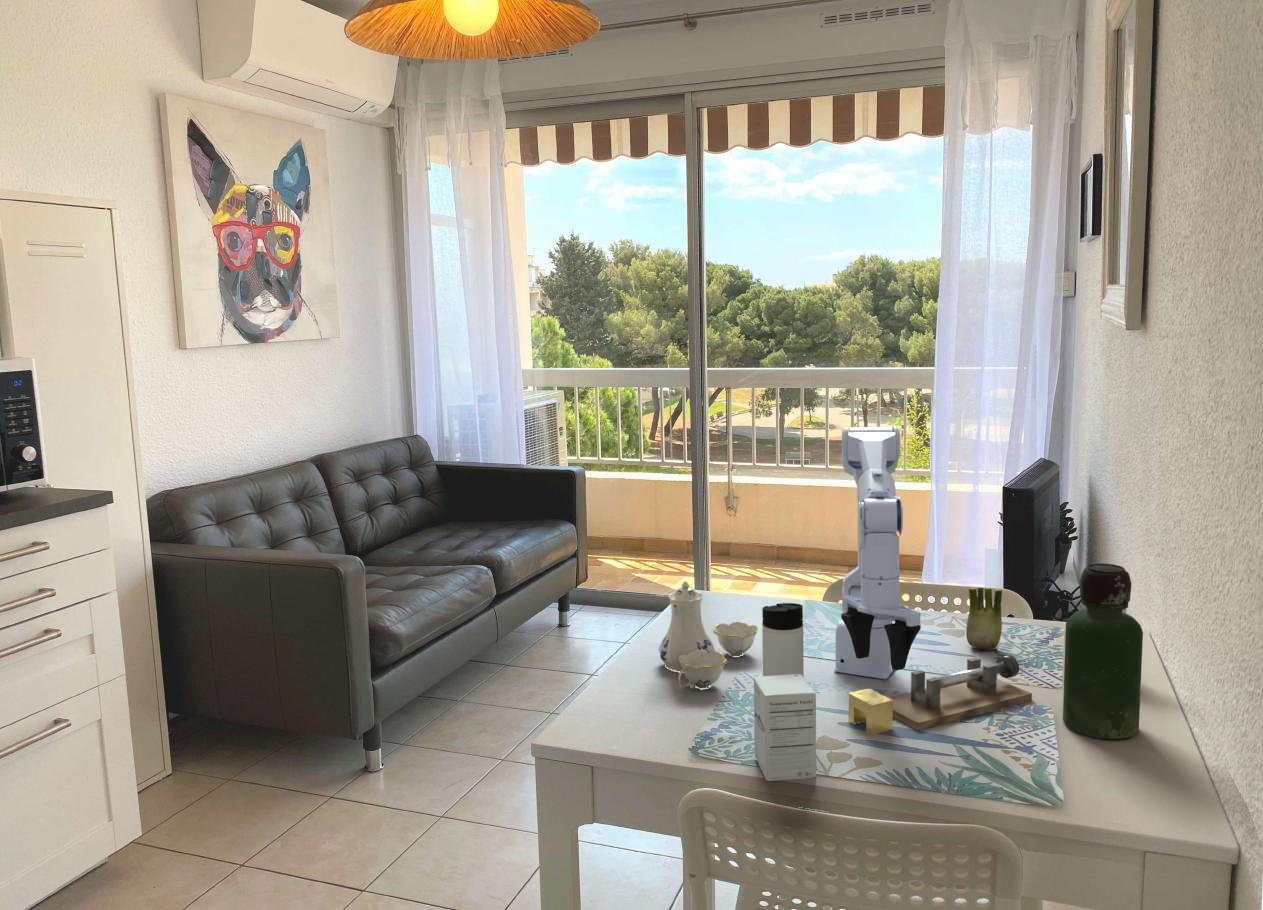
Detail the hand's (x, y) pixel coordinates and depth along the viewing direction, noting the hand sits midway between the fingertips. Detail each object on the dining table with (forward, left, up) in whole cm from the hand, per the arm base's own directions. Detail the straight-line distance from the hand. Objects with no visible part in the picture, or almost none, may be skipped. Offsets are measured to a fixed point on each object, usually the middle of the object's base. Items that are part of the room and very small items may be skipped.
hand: (880, 663), depth 147 cm
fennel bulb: (+8, +43, -10) cm, 45 cm away
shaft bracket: (+8, +13, -10) cm, 19 cm away
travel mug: (-13, -7, -10) cm, 18 cm away
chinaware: (-36, +11, -11) cm, 39 cm away
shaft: (+11, +17, -8) cm, 22 cm away
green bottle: (+30, +14, -10) cm, 35 cm away
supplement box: (-8, -20, -10) cm, 24 cm away
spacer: (-1, 0, -10) cm, 10 cm away
